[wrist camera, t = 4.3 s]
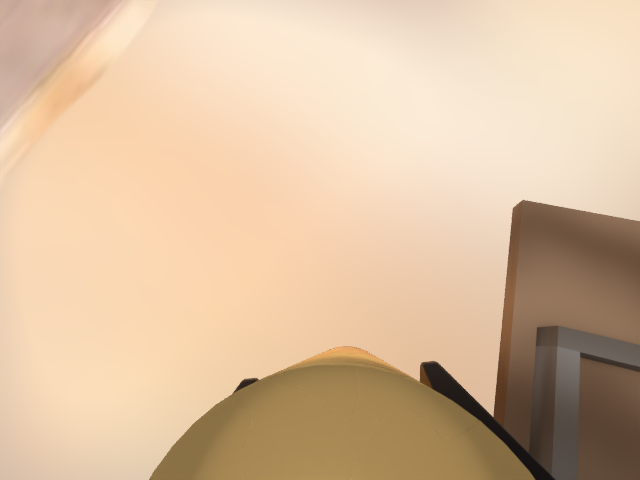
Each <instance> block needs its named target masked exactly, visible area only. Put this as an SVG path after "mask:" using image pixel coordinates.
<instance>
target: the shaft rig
mask: <svg viewBox="0 0 640 480" xmlns="http://www.w3.org/2000/svg"><path fill="white" fill-rule="evenodd" d="M493 418H494V419H495V420H496V421H497V422H498V423H499V424H500V425H501V426H502V427H503V428H504V429H505V430H507V431H508V432H509V433H510V434H511V435H512V436H513V437H514V438H515V439H516V440H517V441H518V442H519V443H520V444H521V445H522V446H523V447H524V448H525V449H526V450H527V451H528V452H529V453H530V454H531V455H532V456H533V457H534V458H535V459H536V460H537V461H538V462H539V463H540V464H541V465H542V466H543V467H544V468H545V469H546V470H547V471H548V472H549V473H550V474H551V475H552V476H553V477H554V478H555V479H556V480H640V221H634V220H629V219H624V218H617V217H613V216H607V215H602V214H596V213H591V212H585V211H580V210H574V209H569V208H564V207H558V206H552V205H547V204H542V203H536V202H531V201H525V200H523V201H521V202H520V203H519V204H517V205H516V206H515V207H514V208H513V213H512V225H511V236H510V246H509V257H508V267H507V277H506V289H505V299H504V310H503V320H502V331H501V343H500V353H499V363H498V374H497V385H496V395H495V406H494V417H493Z"/></svg>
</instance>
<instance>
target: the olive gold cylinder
mask: <svg viewBox="0 0 640 480" xmlns="http://www.w3.org/2000/svg"><path fill="white" fill-rule="evenodd" d="M149 480H535V478H534V477H533V476H532V474H531V473H530V471H529V470H528V469H527V468H526V467H525V466H524V465H523V463H522V462H521V461H520V460H519V459H518V458H517V457H516V456H515V454H514V453H513V452H512V451H511V450H510V449H509V448H508V446H507V445H506V444H505V443H504V442H503V441H502V440H500V439H499V438H498V437H497V436H496V435H495V434H494V433H493V432H492V431H491V430H490V429H488V428H487V427H486V426H485V425H484V424H483V423H482V422H481V421H480V420H478V419H477V418H476V417H474V416H473V415H471V414H470V413H469V412H467V411H466V410H465V409H463V408H462V407H460V406H459V405H458V404H456V403H455V402H454V401H452V400H450V399H448V398H447V397H445V396H443V395H442V394H440V393H438V392H436V391H435V390H433V389H431V388H429V387H428V386H426V385H424V384H422V383H421V382H419V381H417V380H415V379H414V378H412V377H410V376H408V375H407V374H405V373H403V372H401V371H400V370H398V369H396V368H394V367H393V366H391V365H389V364H387V363H386V362H384V361H382V360H381V359H379V358H377V357H375V356H373V355H372V354H370V353H368V352H367V351H365V350H362V349H359V348H355V347H348V346H347V347H337V348H333V349H330V350H328V351H326V352H323V353H321V354H318V355H316V356H314V357H311V358H309V359H307V360H305V361H302V362H300V363H298V364H295V365H293V366H291V367H288V368H286V369H284V370H281V371H279V372H277V373H275V374H272V375H270V376H267V377H265V378H263V379H261V380H259V381H257V382H254V383H252V384H250V385H248V386H246V387H244V388H242V389H240V390H238V391H237V392H235V393H233V394H232V395H231V396H229V397H228V398H226V399H224V400H223V401H221V402H220V403H218V404H217V405H215V406H214V407H213V408H212V409H211V410H209V411H208V412H207V413H206V414H205V415H204V416H202V417H201V418H200V419H199V420H197V421H196V422H195V423H194V424H193V425H192V426H191V427H190V428H189V429H188V430H187V431H186V432H185V434H184V435H183V436H182V437H181V438H180V439H179V440H178V441H177V442H176V443H175V444H174V445H173V446H172V448H171V449H170V451H169V452H168V453H167V455H166V456H165V457H164V459H163V460H162V461H161V463H160V464H159V465H158V467H157V468H156V470H155V471H154V472H153V474H152V476H151V477H150V479H149Z"/></svg>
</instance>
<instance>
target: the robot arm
mask: <svg viewBox="0 0 640 480" xmlns="http://www.w3.org/2000/svg"><path fill="white" fill-rule="evenodd" d="M257 381H259V380H258V379H257V378H251V379H244V380H243V381H242V382H241V383H240V385H239V386H238V387H237V388H236V390H235V391H234V392H233V393H235V392H237V391H238V390H240V389H242V388H244V387H246V386H248V385H250V384H252V383H254V382H257ZM420 382H421V383H422V384H424V385H426V386H428V387H429V388H431V389H433V390H435V391H436V392H438V393H440V394H442V395H443V396H445V397H447V398H448V399H450V400H452V401H454V402H455V403H456V404H458V405H459V406H460V407H462V408H463V409H465V410H466V411H467V412H469V413H470V414H471V415H473V416H474V417H476V418H477V419H478V420H480V421H481V422H482V423H483V424H484V425H485V426H486V427H487V428H488V429H490V430H491V431H492V432H493V433H494V434H495V435H496V436H497V437H498V438H499V439H500V440H502V441H503V442H504V443H505V444H506V445H507V446H508V448H509V449H510V450H511V451H512V452H513V453H514V454H515V456H516V457H517V458H518V459H519V460H520V461H521V462H522V463H523V465H524V466H525V467H526V468H527V469H528V470H529V471H530V473H531V474H532V476H533V477H534V478H535V480H556V479H555V478H554V477H553V476H552V475H551V474H550V473H549V472H548V471H547V470H546V469H545V468H544V467H543V466H542V465H541V464H540V463H539V462H538V461H537V460H536V459H535V458H534V457H533V456H532V455H531V454H530V453H529V452H528V451H527V450H526V449H525V448H524V447H523V446H522V445H521V444H520V443H519V442H518V441H517V440H516V439H515V438H514V437H513V436H512V435H511V434H510V433H509V432H508V431H507V430H505V429H504V428H503V427H502V426H501V425H500V424H499V423H498V422H497V421H496V420H495V419H494V418H493V417H492V416H491V415H490V414H489V413H488V412H487V411H486V410H485V409H484V408H483V407H482V406H481V405H480V404H479V403H478V402H477V401H476V400H475V399H474V398H473V397H472V396H471V395H470V394H469V393H468V392H467V391H466V390H465V389H464V388H463V387H462V386H461V385H460V384H459V383H458V382H457V381H456V380H455V379H454V378H453V377H452V376H451V375H450V374H449V373H448V372H447V371H446V370H445V369H444V368H443V367H442V366H441V365H439V363H437V362H435V361H430V362H423V363H421V366H420Z"/></svg>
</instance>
